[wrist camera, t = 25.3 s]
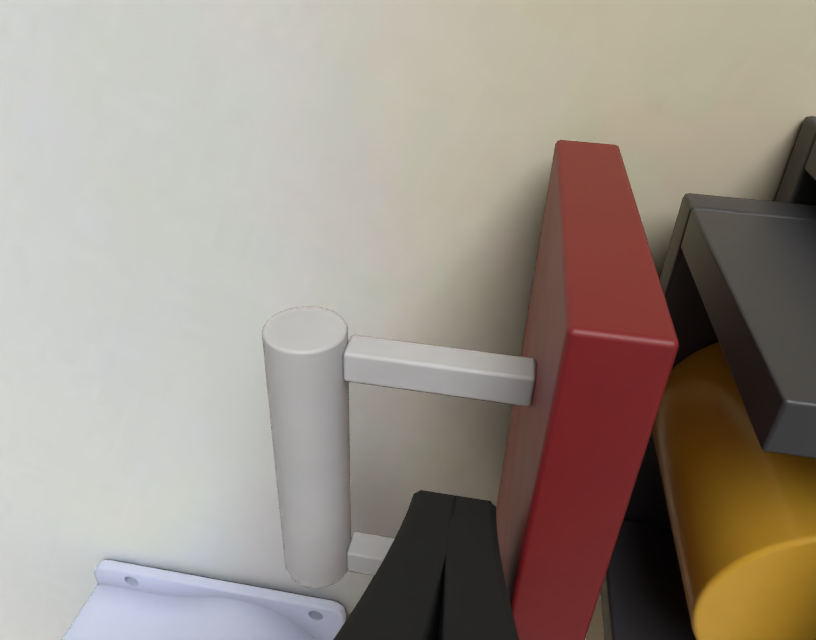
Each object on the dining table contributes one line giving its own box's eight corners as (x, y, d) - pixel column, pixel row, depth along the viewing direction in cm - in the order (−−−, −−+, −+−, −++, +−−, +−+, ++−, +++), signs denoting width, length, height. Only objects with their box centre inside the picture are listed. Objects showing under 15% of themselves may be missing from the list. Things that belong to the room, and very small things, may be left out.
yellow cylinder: (814, 490, 15) (921, 722, 11) (631, 465, 15) (664, 676, 11) (890, 345, 13) (1061, 564, 8) (674, 321, 13) (735, 516, 9)
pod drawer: (339, 481, 19) (252, 729, 13) (330, 118, 13) (171, 280, 8) (985, 584, 17) (1210, 930, 11) (1302, 205, 11) (2086, 517, 5)
